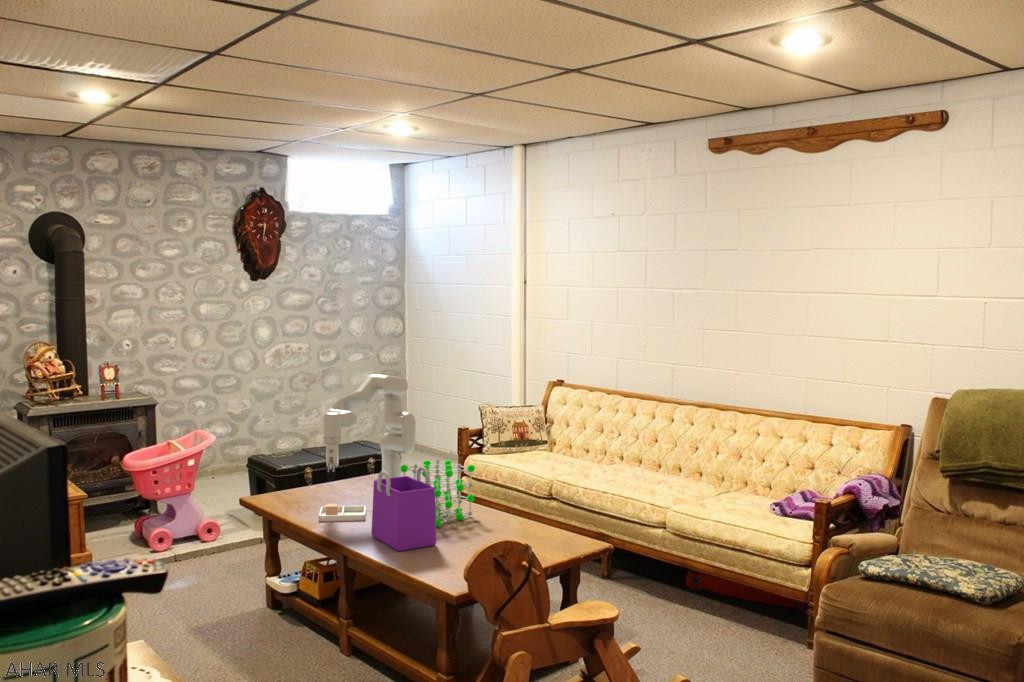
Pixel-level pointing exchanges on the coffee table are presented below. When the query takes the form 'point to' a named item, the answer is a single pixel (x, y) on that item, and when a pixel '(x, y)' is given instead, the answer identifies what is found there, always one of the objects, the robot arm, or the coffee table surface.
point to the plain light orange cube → (331, 509)
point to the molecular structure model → (448, 491)
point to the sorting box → (344, 514)
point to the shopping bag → (404, 511)
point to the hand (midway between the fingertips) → (331, 478)
